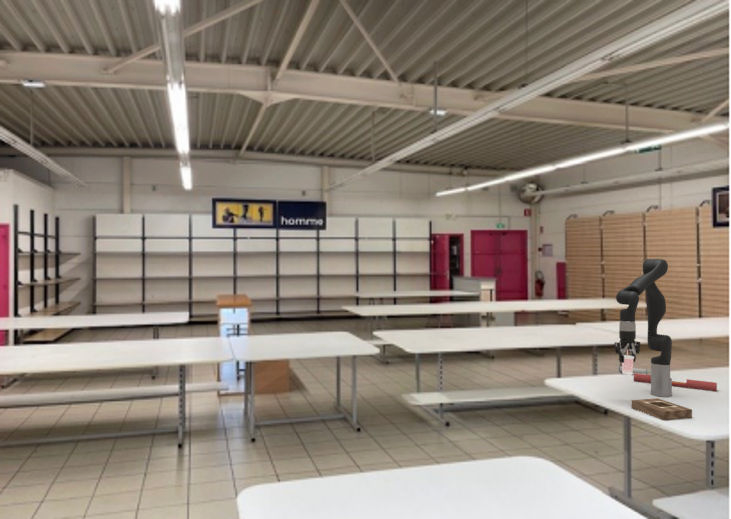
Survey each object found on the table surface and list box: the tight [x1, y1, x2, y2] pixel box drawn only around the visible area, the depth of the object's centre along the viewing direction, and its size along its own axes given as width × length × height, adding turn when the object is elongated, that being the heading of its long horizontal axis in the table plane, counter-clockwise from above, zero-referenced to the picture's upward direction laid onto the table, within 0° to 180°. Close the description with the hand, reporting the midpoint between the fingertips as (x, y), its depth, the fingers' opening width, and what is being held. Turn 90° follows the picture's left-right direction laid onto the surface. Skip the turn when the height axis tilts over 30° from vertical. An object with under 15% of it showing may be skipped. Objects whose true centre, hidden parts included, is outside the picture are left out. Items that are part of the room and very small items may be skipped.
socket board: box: [630, 397, 693, 421], centre depth 246 cm, size 16×20×4 cm
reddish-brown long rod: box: [633, 373, 718, 392], centre depth 301 cm, size 42×5×5 cm, turn 56°
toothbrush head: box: [618, 365, 651, 375], centre depth 328 cm, size 5×7×25 cm
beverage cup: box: [621, 349, 634, 376], centre depth 262 cm, size 6×6×14 cm
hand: (627, 361), depth 262 cm, fingers closed on beverage cup, 6 cm apart
